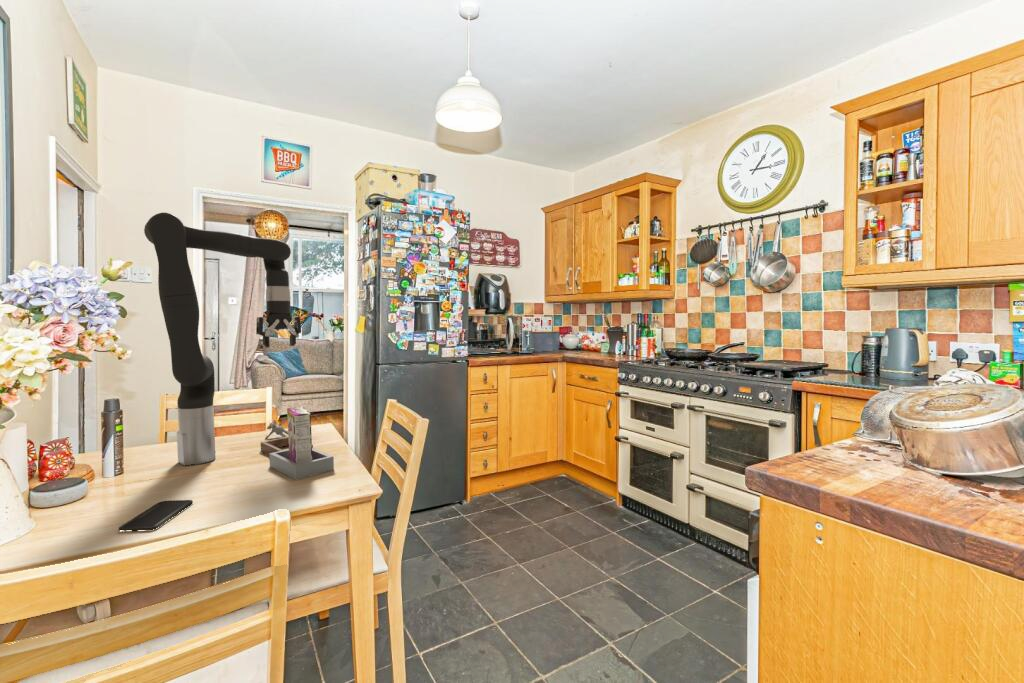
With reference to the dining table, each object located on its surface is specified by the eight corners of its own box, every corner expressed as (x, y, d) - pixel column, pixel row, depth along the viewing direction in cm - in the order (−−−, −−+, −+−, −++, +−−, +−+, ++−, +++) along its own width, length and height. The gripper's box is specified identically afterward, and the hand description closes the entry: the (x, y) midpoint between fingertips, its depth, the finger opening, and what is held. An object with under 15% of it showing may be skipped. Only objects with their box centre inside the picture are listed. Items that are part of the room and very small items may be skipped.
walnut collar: (281, 461, 149) (281, 451, 149) (260, 451, 160) (260, 442, 160) (313, 453, 157) (312, 444, 157) (291, 444, 167) (290, 436, 167)
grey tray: (295, 480, 133) (295, 465, 133) (269, 466, 144) (269, 453, 144) (333, 469, 141) (333, 456, 141) (306, 457, 153) (305, 445, 152)
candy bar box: (288, 461, 146) (286, 407, 145) (305, 458, 149) (304, 406, 148) (294, 471, 137) (292, 414, 136) (313, 468, 140) (311, 412, 139)
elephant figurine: (274, 443, 170) (257, 431, 173) (281, 451, 174) (264, 439, 178) (295, 421, 175) (278, 411, 178) (301, 430, 180) (285, 419, 183)
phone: (194, 499, 118) (154, 527, 103) (194, 504, 118) (155, 532, 103) (160, 500, 117) (115, 528, 102) (160, 505, 117) (115, 534, 102)
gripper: (294, 300, 173) (295, 344, 175) (252, 299, 163) (253, 347, 164) (303, 299, 169) (305, 346, 170) (261, 299, 158) (262, 348, 159)
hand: (279, 346), depth 167 cm, fingers open, 8 cm apart
